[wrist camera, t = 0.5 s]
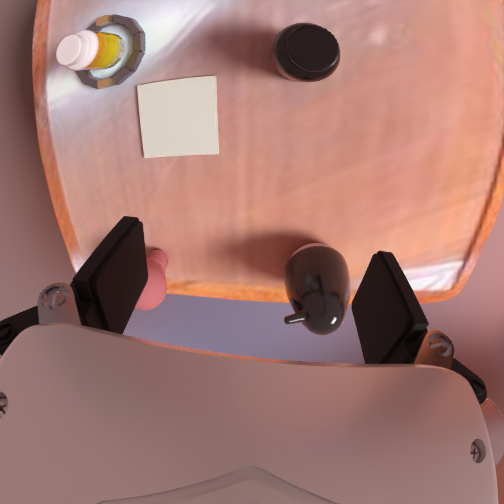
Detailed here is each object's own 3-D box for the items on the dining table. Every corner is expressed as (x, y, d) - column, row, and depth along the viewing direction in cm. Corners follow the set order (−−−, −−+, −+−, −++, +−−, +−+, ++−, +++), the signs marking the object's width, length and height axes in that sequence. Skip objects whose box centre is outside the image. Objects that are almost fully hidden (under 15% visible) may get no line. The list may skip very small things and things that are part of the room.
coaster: (139, 85, 31) (137, 85, 30) (216, 75, 30) (215, 75, 30) (146, 157, 37) (144, 158, 37) (219, 153, 37) (218, 154, 36)
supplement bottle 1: (128, 31, 26) (88, 23, 18) (125, 66, 29) (83, 67, 21) (96, 37, 26) (53, 34, 17) (93, 70, 29) (50, 75, 21)
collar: (80, 30, 25) (71, 29, 23) (145, 8, 24) (138, 5, 22) (82, 94, 31) (73, 96, 29) (146, 78, 30) (139, 79, 28)
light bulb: (167, 232, 44) (141, 279, 35) (186, 266, 48) (167, 316, 38) (135, 243, 46) (105, 288, 36) (154, 274, 50) (131, 322, 40)
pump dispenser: (286, 229, 43) (292, 298, 30) (350, 237, 43) (376, 304, 30) (277, 279, 49) (277, 351, 36) (333, 285, 49) (348, 354, 36)
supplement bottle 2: (272, 82, 31) (274, 81, 21) (270, 34, 27) (270, 12, 17) (325, 83, 30) (351, 84, 20) (324, 36, 26) (348, 17, 16)
